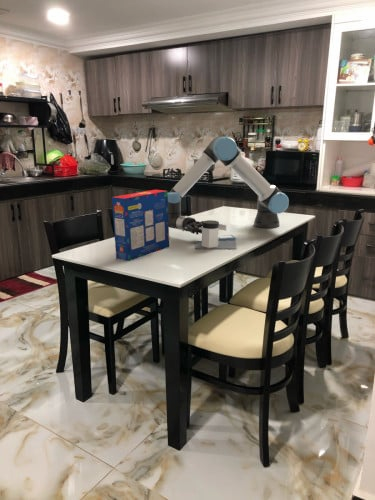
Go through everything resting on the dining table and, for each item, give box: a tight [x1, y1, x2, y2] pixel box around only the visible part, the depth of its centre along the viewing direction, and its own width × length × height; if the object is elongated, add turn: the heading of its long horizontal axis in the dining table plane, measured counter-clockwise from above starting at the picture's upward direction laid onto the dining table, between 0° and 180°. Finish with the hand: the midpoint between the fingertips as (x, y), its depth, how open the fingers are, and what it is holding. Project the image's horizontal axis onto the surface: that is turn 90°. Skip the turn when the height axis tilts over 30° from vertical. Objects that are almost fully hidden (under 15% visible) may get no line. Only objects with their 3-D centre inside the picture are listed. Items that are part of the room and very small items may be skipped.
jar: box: [201, 219, 220, 248], centre depth 190 cm, size 9×8×12 cm
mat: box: [194, 240, 237, 250], centre depth 194 cm, size 20×14×1 cm
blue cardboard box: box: [111, 189, 170, 262], centre depth 181 cm, size 28×8×28 cm, turn 142°
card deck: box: [219, 234, 237, 241], centre depth 205 cm, size 9×6×2 cm
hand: (217, 230), depth 191 cm, fingers open, 12 cm apart
